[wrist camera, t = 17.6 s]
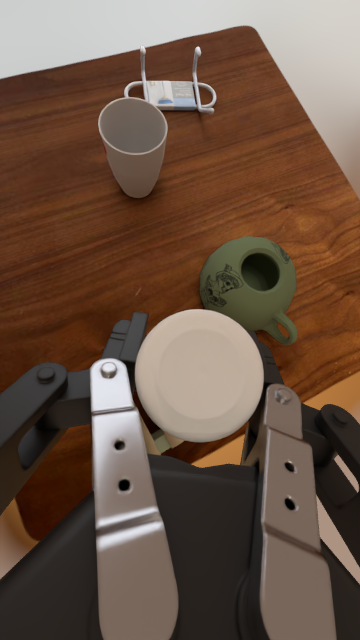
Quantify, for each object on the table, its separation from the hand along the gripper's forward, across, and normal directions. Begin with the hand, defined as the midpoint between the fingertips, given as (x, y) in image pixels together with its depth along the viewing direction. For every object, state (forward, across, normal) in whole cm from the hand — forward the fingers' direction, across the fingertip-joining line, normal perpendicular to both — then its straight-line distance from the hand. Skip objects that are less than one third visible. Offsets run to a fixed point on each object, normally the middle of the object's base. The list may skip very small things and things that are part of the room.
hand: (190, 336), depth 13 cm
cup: (+35, +8, -2) cm, 36 cm away
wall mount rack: (+46, +5, -13) cm, 48 cm away
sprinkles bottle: (+5, 0, +8) cm, 10 cm away
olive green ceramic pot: (+24, -10, +9) cm, 28 cm away
